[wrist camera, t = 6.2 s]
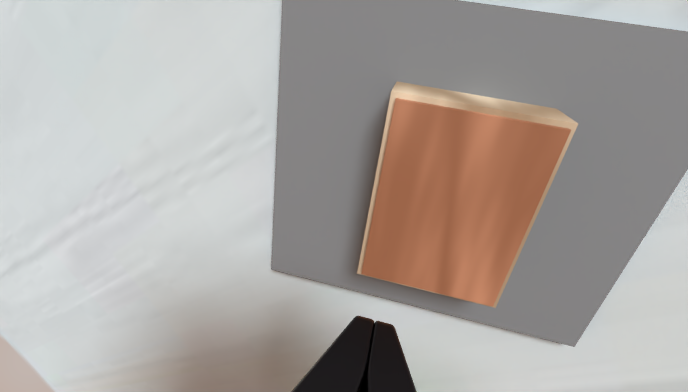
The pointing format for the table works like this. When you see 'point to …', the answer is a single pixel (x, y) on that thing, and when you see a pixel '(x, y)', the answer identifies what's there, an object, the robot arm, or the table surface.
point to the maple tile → (459, 189)
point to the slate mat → (490, 81)
